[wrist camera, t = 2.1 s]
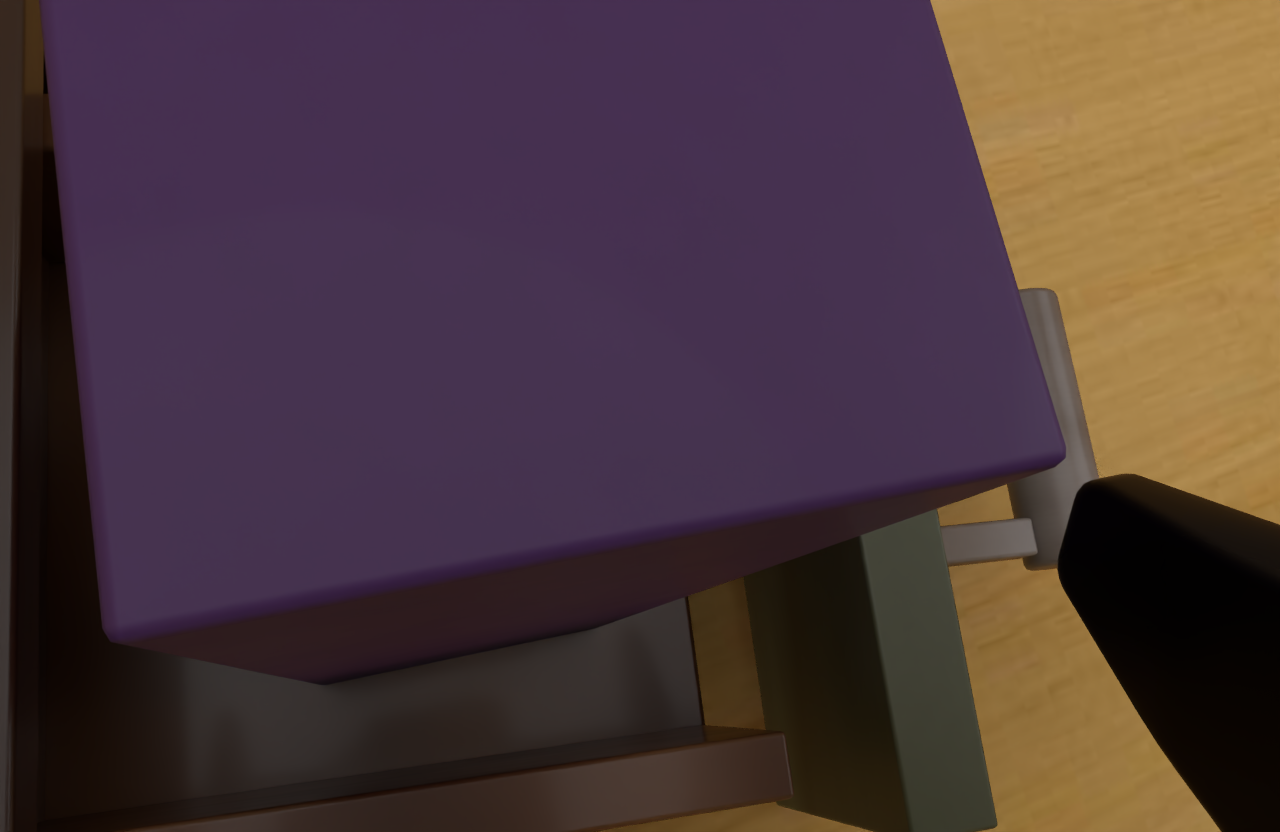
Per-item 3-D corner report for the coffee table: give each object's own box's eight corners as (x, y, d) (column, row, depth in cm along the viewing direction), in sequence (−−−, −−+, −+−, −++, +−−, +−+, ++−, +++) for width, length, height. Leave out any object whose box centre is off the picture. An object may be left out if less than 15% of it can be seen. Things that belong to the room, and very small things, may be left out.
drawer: (943, 192, 21) (1094, 54, 17) (1062, 758, 19) (1278, 777, 14) (16, 205, 17) (-120, 26, 12) (6, 935, 14) (-170, 1042, 10)
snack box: (599, 627, 16) (1078, 460, 5) (319, 686, 15) (99, 648, 4) (538, 324, 17) (816, -389, 6) (272, 358, 16) (-9, -439, 5)
